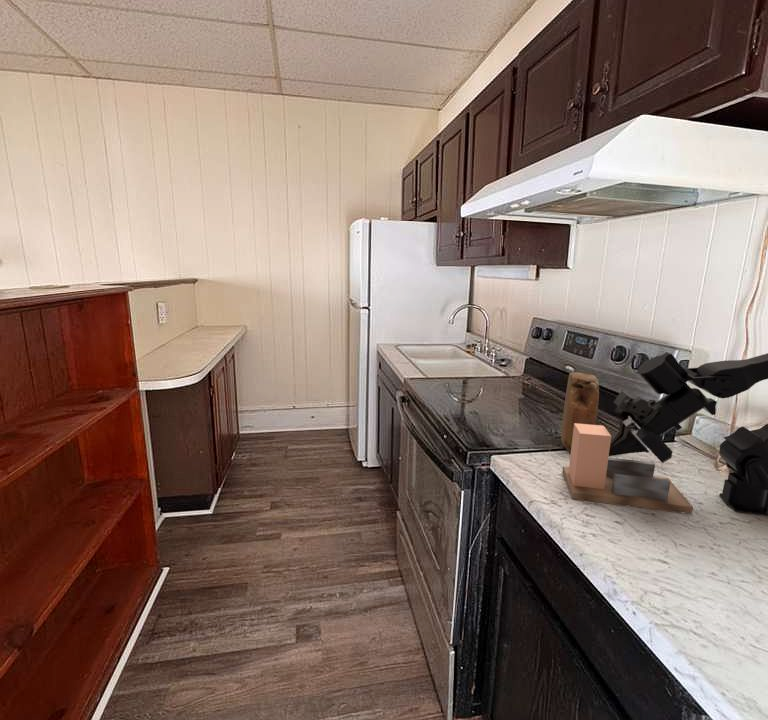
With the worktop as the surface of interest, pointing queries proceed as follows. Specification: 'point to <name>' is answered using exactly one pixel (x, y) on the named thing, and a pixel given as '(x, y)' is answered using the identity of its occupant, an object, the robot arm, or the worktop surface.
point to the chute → (632, 487)
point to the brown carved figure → (579, 404)
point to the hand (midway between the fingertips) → (605, 454)
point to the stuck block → (589, 455)
